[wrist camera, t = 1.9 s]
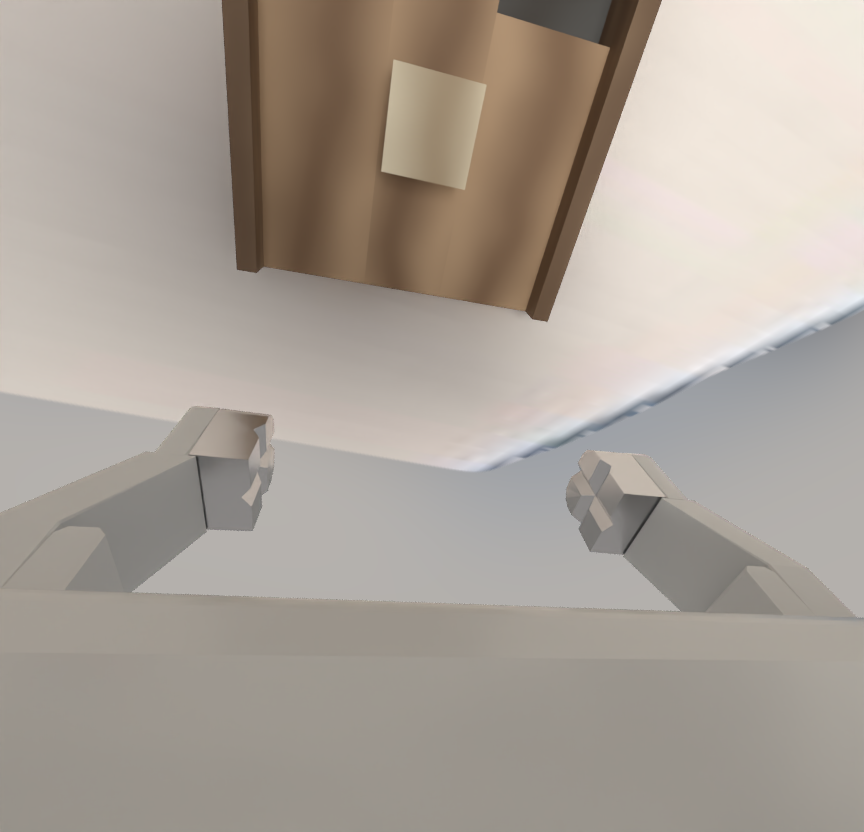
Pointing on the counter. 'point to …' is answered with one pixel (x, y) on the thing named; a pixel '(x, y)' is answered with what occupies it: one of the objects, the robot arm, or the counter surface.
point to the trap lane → (366, 125)
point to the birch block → (431, 125)
